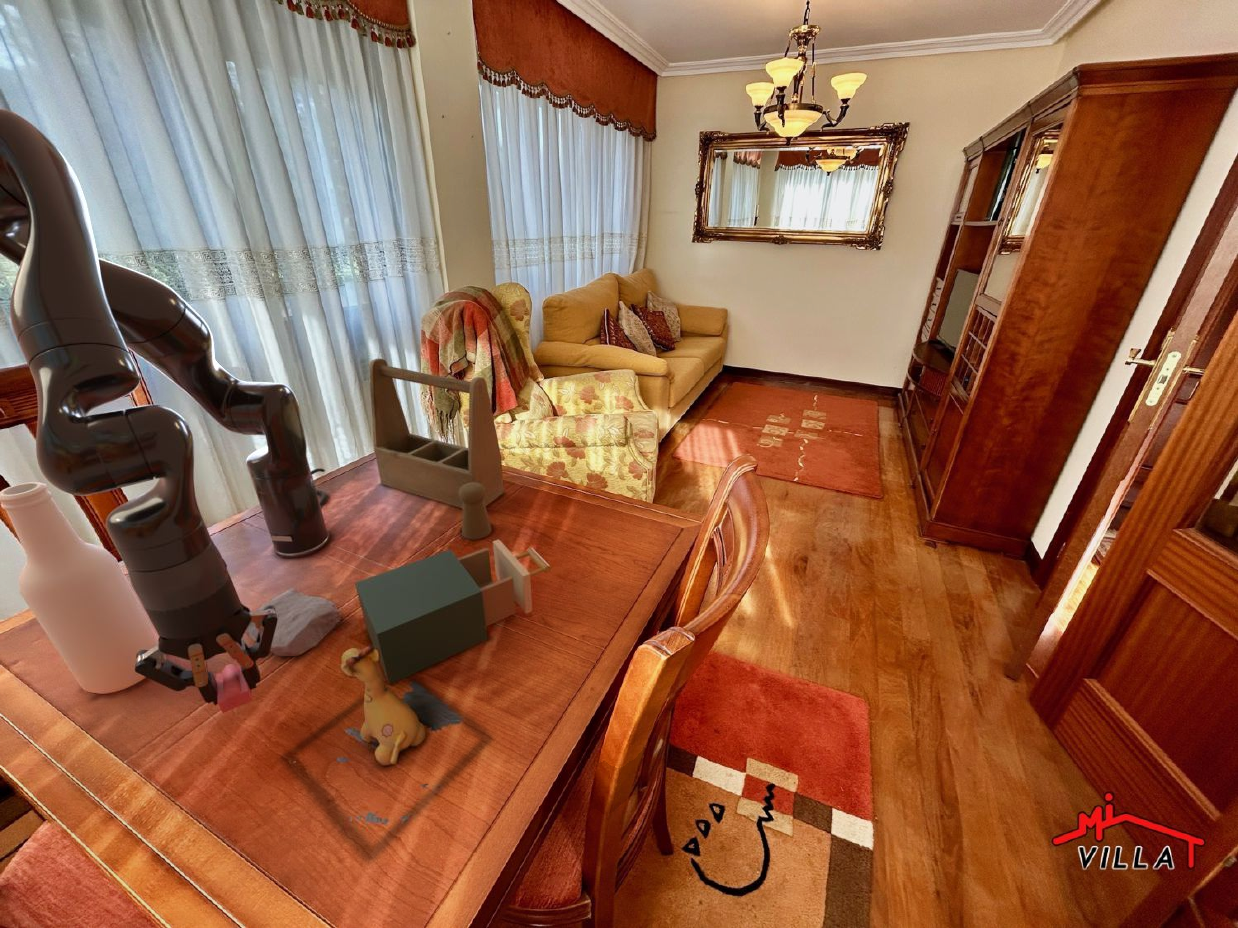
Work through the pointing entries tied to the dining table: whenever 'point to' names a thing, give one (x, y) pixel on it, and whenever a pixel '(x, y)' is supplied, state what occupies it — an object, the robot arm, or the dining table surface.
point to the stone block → (298, 622)
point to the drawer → (503, 580)
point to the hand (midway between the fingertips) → (236, 691)
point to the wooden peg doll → (474, 511)
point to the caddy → (433, 441)
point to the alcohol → (77, 594)
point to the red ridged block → (232, 688)
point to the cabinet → (422, 613)
